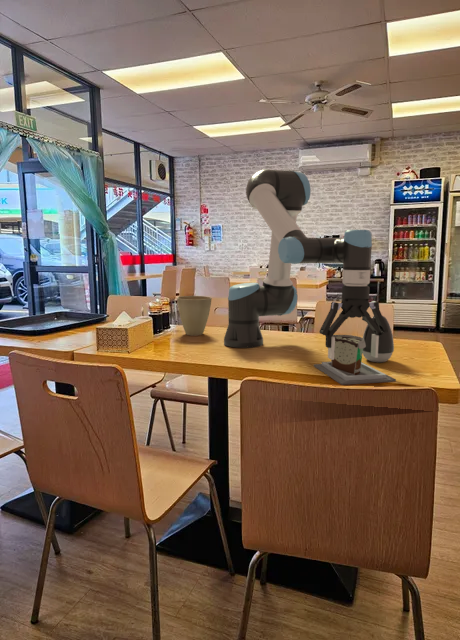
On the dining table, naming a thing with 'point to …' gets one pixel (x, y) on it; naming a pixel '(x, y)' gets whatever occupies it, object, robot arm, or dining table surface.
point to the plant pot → (194, 313)
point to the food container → (348, 353)
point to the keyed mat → (364, 376)
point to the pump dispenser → (384, 348)
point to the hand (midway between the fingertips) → (352, 357)
